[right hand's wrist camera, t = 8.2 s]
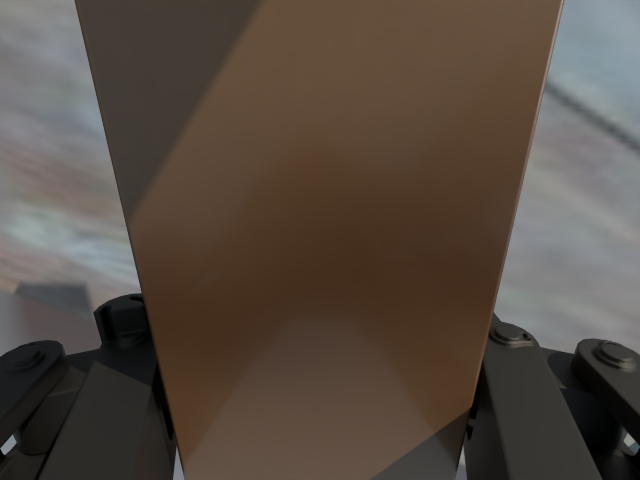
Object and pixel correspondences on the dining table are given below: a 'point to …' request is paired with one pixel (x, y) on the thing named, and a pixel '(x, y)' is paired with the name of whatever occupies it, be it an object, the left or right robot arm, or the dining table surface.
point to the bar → (319, 216)
